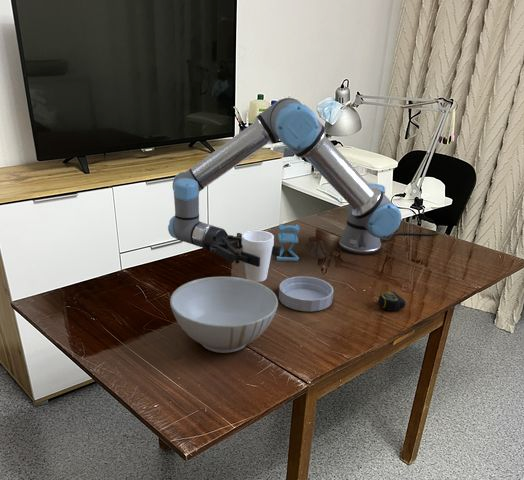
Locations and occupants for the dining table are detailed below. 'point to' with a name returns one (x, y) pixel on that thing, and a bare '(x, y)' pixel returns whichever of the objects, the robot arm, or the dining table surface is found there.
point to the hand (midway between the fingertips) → (269, 256)
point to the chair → (288, 240)
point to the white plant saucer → (305, 293)
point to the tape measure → (391, 301)
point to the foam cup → (258, 253)
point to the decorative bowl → (224, 311)
